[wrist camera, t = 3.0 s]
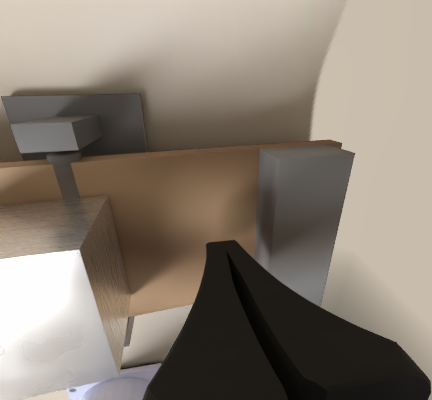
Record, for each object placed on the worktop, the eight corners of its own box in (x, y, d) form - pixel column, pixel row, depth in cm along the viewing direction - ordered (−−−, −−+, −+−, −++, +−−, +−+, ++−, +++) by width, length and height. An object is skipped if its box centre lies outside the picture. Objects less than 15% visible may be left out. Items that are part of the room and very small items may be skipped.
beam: (305, 271, 17) (334, 306, 14) (-169, 363, 12) (-269, 447, 9) (329, 133, 13) (376, 144, 10) (-373, 178, 8) (-667, 225, 5)
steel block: (130, 297, 13) (119, 377, 9) (26, 315, 12) (-32, 411, 8) (107, 195, 10) (79, 249, 7) (-27, 207, 9) (-142, 278, 6)
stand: (168, 298, 18) (166, 350, 14) (83, 309, 17) (58, 367, 13) (139, 93, 12) (124, 93, 8) (9, 96, 11) (-70, 97, 8)
